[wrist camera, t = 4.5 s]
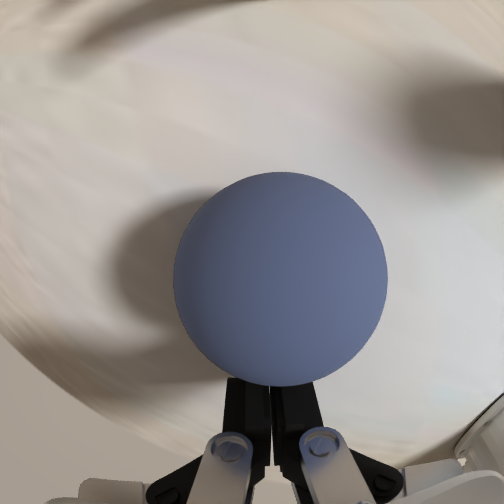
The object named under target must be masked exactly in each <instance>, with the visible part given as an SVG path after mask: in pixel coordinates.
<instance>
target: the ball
mask: <svg viewBox="0 0 504 504" xmlns="http://www.w3.org/2000/svg"><path fill="white" fill-rule="evenodd" d="M387 283H388V274H387V264H386V258H385V254H384V249H383V246H382V243H381V240H380V238H379V236H378V233H377V231H376V229H375V227H374V226H373V224H372V222H371V220H370V219H369V218H368V216H367V215H366V214H365V212H364V211H363V210H362V209H361V208H360V207H359V205H358V204H357V203H356V202H355V201H354V200H353V199H351V198H350V197H349V196H348V195H347V194H345V193H344V192H342V191H341V190H339V189H338V188H336V187H334V186H333V185H331V184H329V183H327V182H325V181H323V180H320V179H318V178H315V177H312V176H308V175H304V174H298V173H291V172H272V173H263V174H258V175H254V176H251V177H247V178H245V179H242V180H240V181H237V182H235V183H233V184H231V185H229V186H228V187H226V188H224V189H222V190H221V191H219V192H218V193H217V194H215V195H214V196H213V197H212V198H211V199H209V200H208V201H207V202H206V203H205V204H204V205H203V206H202V207H201V208H200V210H199V211H198V212H197V213H196V215H195V216H194V217H193V219H192V220H191V222H190V223H189V225H188V227H187V228H186V230H185V232H184V234H183V236H182V239H181V242H180V245H179V248H178V251H177V254H176V259H175V264H174V278H173V287H174V294H175V301H176V306H177V309H178V312H179V316H180V319H181V321H182V323H183V325H184V327H185V329H186V331H187V333H188V335H189V337H190V338H191V339H192V341H193V342H194V344H195V345H196V346H197V348H198V349H199V350H200V351H201V352H202V353H203V354H204V355H205V356H206V357H207V358H208V359H209V360H210V361H211V362H213V363H214V364H215V365H217V366H218V367H219V368H221V369H222V370H224V371H225V372H227V373H229V374H231V375H233V376H235V377H237V378H239V379H242V380H245V381H248V382H251V383H255V384H260V385H265V386H279V387H281V386H295V385H300V384H305V383H309V382H312V381H315V380H318V379H321V378H323V377H325V376H327V375H329V374H331V373H333V372H334V371H336V370H338V369H339V368H341V367H342V366H343V365H345V364H346V363H347V362H349V361H350V360H351V359H352V358H353V357H354V356H355V355H356V354H357V353H358V352H359V351H360V350H361V349H362V348H363V347H364V345H365V344H366V342H367V341H368V339H369V338H370V337H371V335H372V334H373V332H374V330H375V328H376V326H377V324H378V322H379V320H380V317H381V314H382V311H383V308H384V304H385V300H386V294H387Z"/></svg>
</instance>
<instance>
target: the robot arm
mask: <svg viewBox="0 0 504 504" xmlns="http://www.w3.org/2000/svg"><path fill="white" fill-rule="evenodd" d="M271 424H272V439H273V453H274V465H275V466H277V465H280V472H282V474H283V477H285V478H286V479H288V480H290V481H291V484H292V488H293V491H294V494H295V497H296V500H297V504H504V395H503V396H502V397H501V398H500V399H499V400H498V401H497V402H496V403H494V404H493V405H492V406H491V407H490V408H489V409H488V410H487V411H486V412H485V413H484V414H483V415H482V416H481V417H480V418H479V419H478V420H477V421H476V422H475V423H474V425H473V426H472V427H471V428H470V429H469V430H468V431H467V432H466V433H465V435H464V436H463V437H462V438H461V440H460V441H459V442H458V444H457V445H456V447H455V450H454V454H455V456H456V457H457V458H464V457H465V458H466V460H467V461H466V462H465V465H464V466H463V467H462V466H461V464H460V463H459V462H458V461H457V460H455V459H444V460H439V461H435V462H429V463H424V464H418V465H412V466H405V467H404V468H403V469H395V468H394V467H391V466H389V465H386V464H384V463H381V462H379V461H376V460H374V459H372V458H369V457H367V456H365V455H363V454H360V453H358V452H356V451H354V450H352V449H350V448H348V446H347V444H346V442H345V440H344V438H343V437H342V435H341V434H340V433H339V432H338V431H336V430H335V429H332V428H329V427H324V426H323V421H322V417H321V413H320V409H319V405H318V401H317V397H316V393H315V389H314V385H313V382H309V383H305V384H300V385H295V386H281V387H279V386H270V395H269V386H265V385H260V384H255V383H251V382H248V381H245V380H242V379H239V378H228V379H227V388H226V398H225V409H224V419H223V430H222V433H219V434H217V435H215V436H214V437H212V438H211V439H210V440H209V442H208V444H207V445H206V448H205V451H204V454H203V455H201V456H200V457H198V458H196V459H195V460H193V461H191V462H190V463H188V464H186V465H185V466H183V467H181V468H179V469H178V470H176V471H174V472H172V473H170V474H168V475H167V476H165V477H163V478H161V479H159V480H157V481H155V482H154V483H152V484H143V482H135V481H134V482H133V481H118V480H106V479H98V478H89V479H87V480H84V481H83V482H82V484H80V487H79V494H78V498H66V497H63V498H55V499H51V500H49V501H47V502H46V503H45V504H252V500H253V495H254V489H255V484H257V483H258V482H259V481H260V480H262V479H263V478H264V477H265V466H270V453H271ZM471 471H473V472H471Z"/></svg>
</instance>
